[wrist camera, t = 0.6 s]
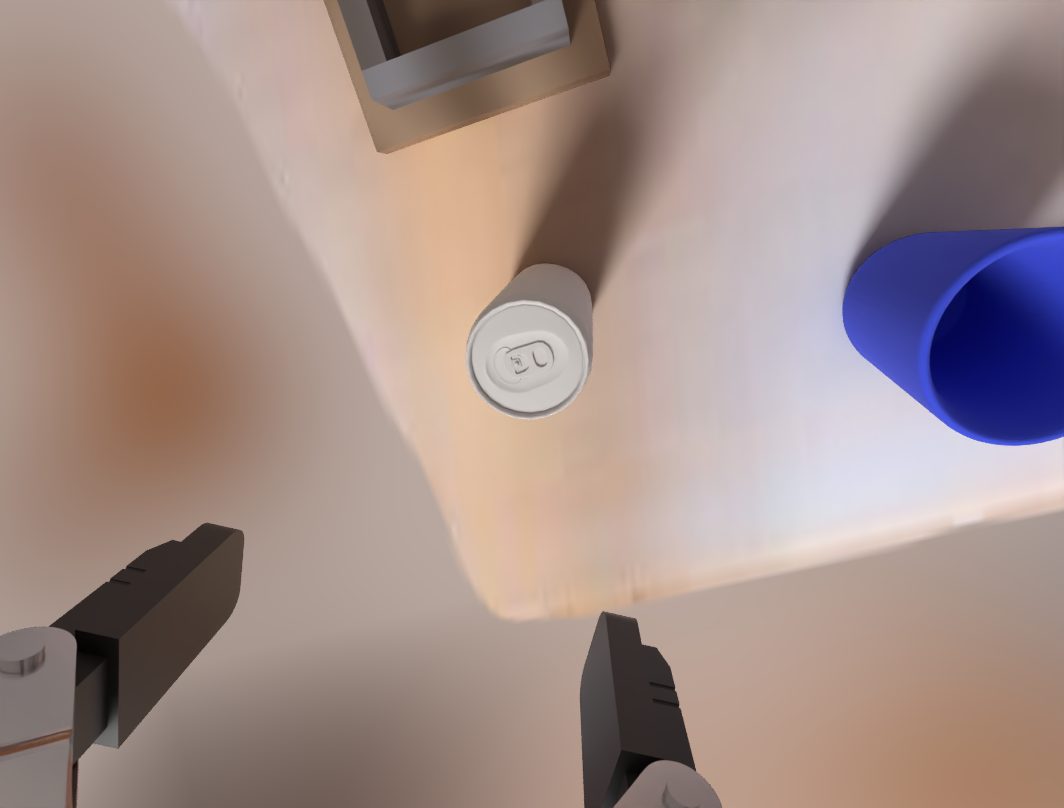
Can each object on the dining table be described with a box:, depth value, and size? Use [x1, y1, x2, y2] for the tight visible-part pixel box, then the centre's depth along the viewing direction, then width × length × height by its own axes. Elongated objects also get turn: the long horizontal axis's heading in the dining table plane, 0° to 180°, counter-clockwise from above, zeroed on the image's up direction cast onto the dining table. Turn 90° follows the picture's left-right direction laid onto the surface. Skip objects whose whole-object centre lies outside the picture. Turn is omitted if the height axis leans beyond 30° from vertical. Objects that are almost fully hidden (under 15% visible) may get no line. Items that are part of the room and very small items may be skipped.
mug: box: [843, 227, 1064, 446], centre depth 26 cm, size 8×12×10 cm
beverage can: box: [466, 263, 593, 420], centre depth 27 cm, size 5×5×12 cm
